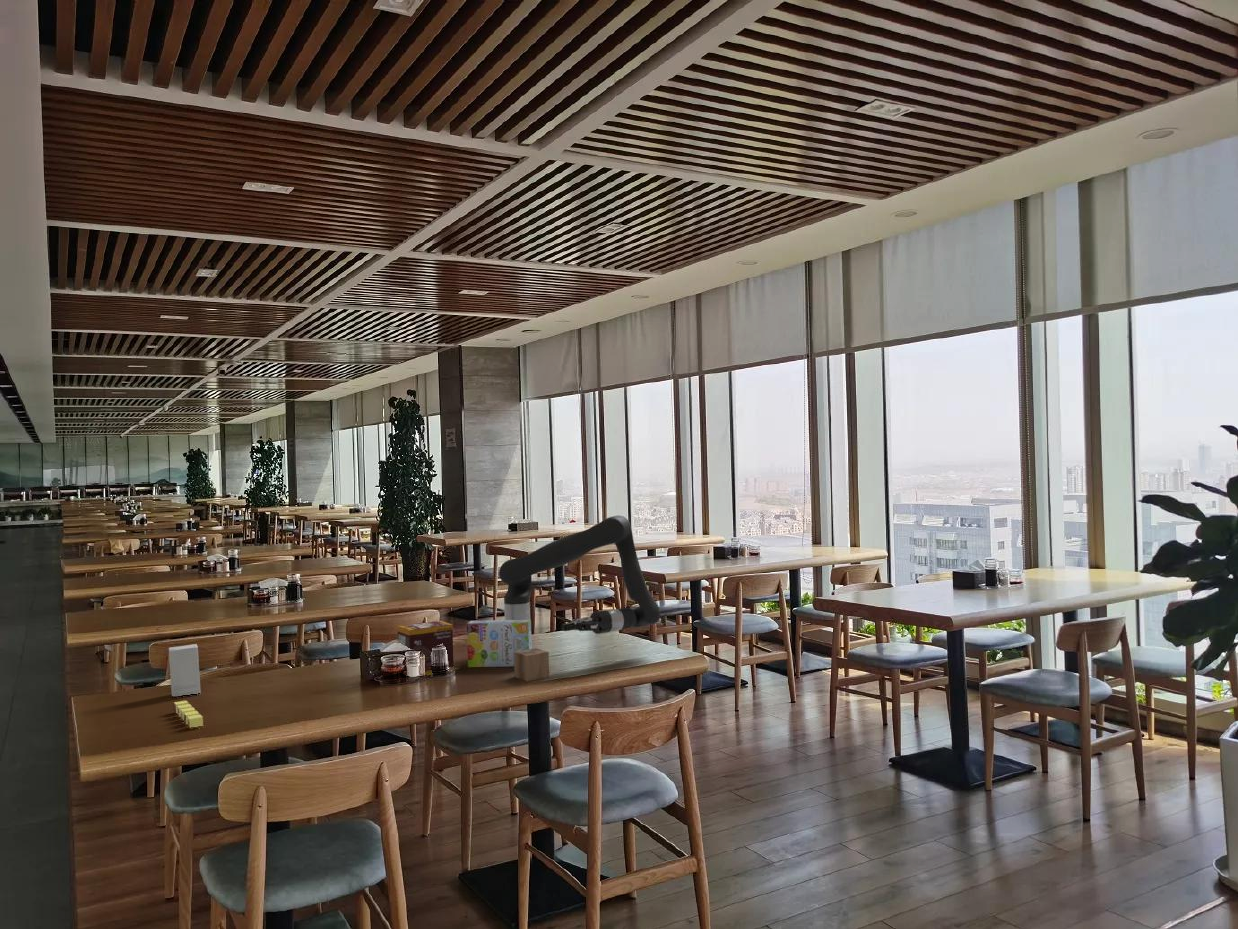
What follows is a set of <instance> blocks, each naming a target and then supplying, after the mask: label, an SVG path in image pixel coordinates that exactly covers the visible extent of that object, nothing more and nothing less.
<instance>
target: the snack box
mask: <svg viewBox="0 0 1238 929" xmlns="http://www.w3.org/2000/svg"><path fill="white" fill-rule="evenodd" d="M532 642H533V640H532V619H530V620H505V619H503V620H502V619H498V620H497V619H496V620H493V619H492V620H470V621H467V623H466V646H467V648H466V649H467V668H497V667H498V668H503V667H504V668H505V667H507V668H508V667H509V668H510V667H514V652H516V651H522V650H528V649H533V645H532Z"/></svg>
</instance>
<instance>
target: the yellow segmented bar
mask: <svg viewBox="0 0 1238 929" xmlns="http://www.w3.org/2000/svg"><path fill="white" fill-rule="evenodd" d="M174 711H175V712H176V713H177V714H178V715H179V717H181V719H183V720H184V722H185V723H186V724H187V725H188V726H189V727H190V728H191V727H198V726H203V727H204V716H202V714H200V713H199V711H198V710H196V709H195V707H193V706H192V705H191V703H189V701H187V700H181V701H175V702H173V712H174ZM179 717H178V718H179ZM181 719H180V720H181ZM184 722H183V723H184ZM188 726H187V727H188Z"/></svg>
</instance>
